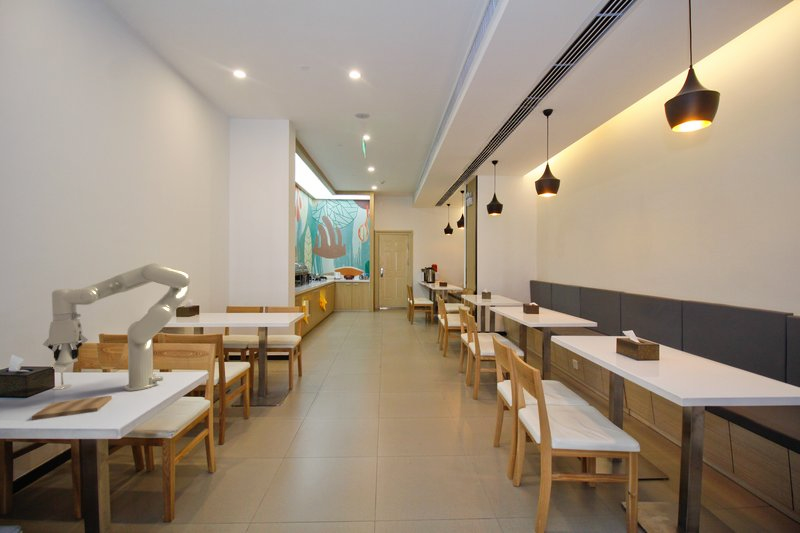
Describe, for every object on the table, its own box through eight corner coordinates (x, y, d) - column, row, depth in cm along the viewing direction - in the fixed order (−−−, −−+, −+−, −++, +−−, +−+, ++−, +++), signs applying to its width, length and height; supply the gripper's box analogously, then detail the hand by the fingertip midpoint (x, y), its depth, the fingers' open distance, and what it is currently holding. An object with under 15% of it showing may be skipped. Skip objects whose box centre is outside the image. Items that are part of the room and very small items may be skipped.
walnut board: (111, 398, 153) (111, 395, 153) (97, 411, 140) (97, 407, 139) (52, 406, 145) (52, 402, 145) (31, 420, 132) (31, 416, 132)
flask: (63, 365, 147) (62, 342, 147) (50, 365, 149) (49, 342, 149) (82, 361, 155) (81, 338, 154) (69, 360, 156) (68, 338, 156)
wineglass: (53, 391, 163) (52, 353, 163) (48, 388, 168) (47, 351, 168) (76, 386, 170) (75, 349, 170) (70, 383, 175) (69, 347, 175)
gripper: (93, 314, 158) (94, 354, 158) (44, 317, 152) (46, 359, 152) (85, 317, 151) (87, 358, 151) (33, 320, 145) (35, 363, 145)
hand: (66, 358), depth 152 cm, fingers closed on flask, 5 cm apart
